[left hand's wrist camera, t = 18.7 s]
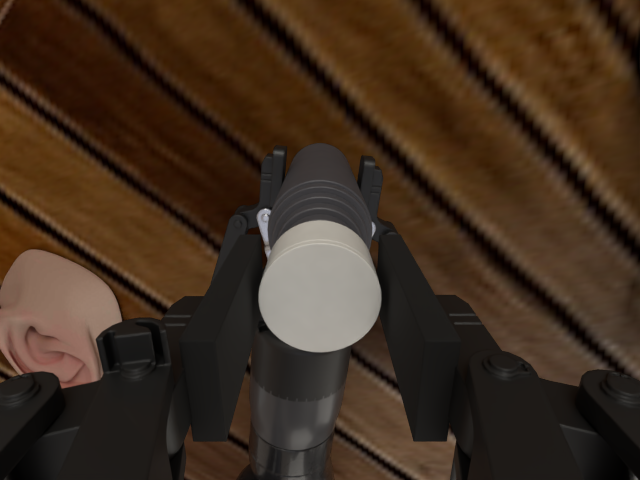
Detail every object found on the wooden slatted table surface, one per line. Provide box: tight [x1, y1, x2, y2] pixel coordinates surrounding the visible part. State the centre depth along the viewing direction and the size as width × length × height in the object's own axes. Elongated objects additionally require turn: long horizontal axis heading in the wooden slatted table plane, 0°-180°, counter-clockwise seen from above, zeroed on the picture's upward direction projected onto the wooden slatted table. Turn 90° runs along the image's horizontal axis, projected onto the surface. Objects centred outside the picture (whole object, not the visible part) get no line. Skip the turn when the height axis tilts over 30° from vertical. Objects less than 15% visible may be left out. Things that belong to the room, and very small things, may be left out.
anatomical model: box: [0, 249, 122, 388], centre depth 35 cm, size 13×4×12 cm
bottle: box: [267, 143, 372, 250], centre depth 23 cm, size 5×5×21 cm
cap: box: [258, 220, 382, 352], centre depth 13 cm, size 4×4×2 cm
